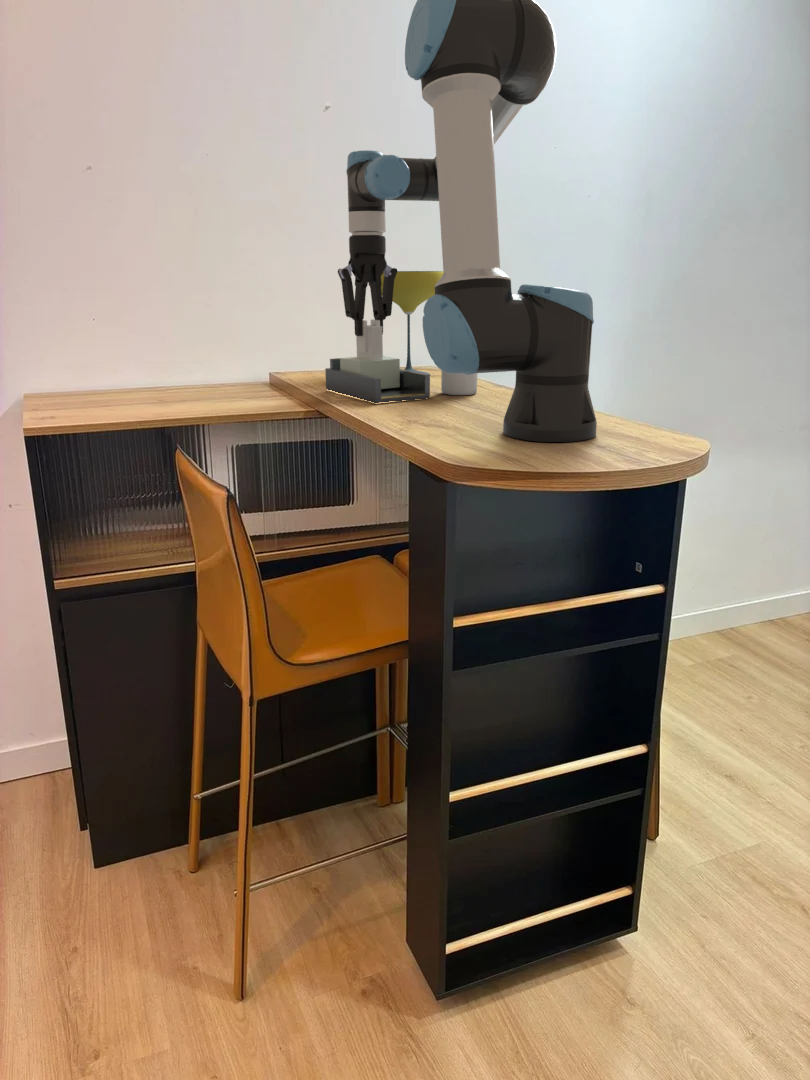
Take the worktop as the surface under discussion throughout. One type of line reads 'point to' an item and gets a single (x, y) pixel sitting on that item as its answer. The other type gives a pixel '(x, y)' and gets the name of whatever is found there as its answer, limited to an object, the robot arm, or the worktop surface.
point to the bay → (377, 385)
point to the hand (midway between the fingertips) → (369, 351)
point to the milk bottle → (458, 384)
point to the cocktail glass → (413, 296)
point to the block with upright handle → (374, 361)
